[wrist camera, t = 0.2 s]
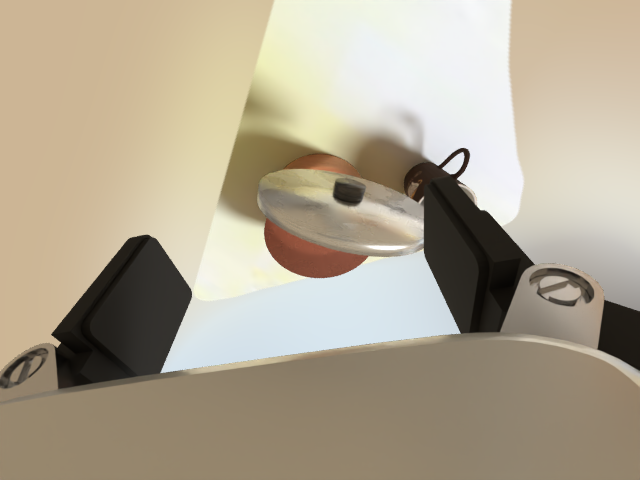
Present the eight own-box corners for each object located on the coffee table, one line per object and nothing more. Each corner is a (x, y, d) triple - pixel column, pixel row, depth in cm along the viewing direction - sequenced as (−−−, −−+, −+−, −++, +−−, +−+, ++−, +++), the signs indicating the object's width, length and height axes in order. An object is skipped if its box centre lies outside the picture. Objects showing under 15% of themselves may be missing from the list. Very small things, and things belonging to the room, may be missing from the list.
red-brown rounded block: (278, 144, 45) (270, 174, 36) (378, 164, 48) (393, 197, 39) (267, 230, 55) (259, 270, 46) (351, 242, 57) (359, 283, 48)
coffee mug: (418, 212, 53) (438, 246, 45) (386, 184, 50) (401, 215, 42) (475, 164, 48) (509, 193, 40) (444, 129, 45) (473, 152, 37)
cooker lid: (266, 171, 36) (269, 147, 35) (399, 195, 38) (406, 174, 37) (242, 237, 21) (245, 200, 20) (462, 269, 23) (478, 238, 22)
